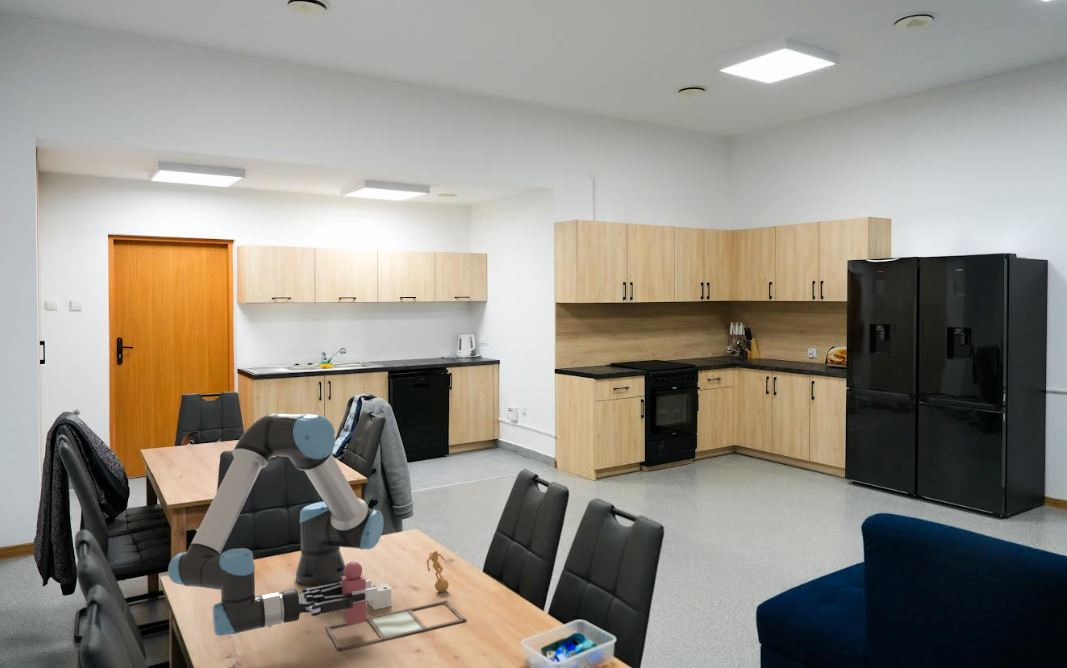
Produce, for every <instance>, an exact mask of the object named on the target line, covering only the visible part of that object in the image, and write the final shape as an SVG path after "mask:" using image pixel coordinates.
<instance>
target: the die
mask: <svg viewBox="0 0 1067 668" xmlns="http://www.w3.org/2000/svg"><path fill="white" fill-rule="evenodd" d="M371 587H372V588H373V587H377V594H378V598H376V599H371V600H368V603H369V605H370V606H371V608H372V609H373V610H380V608H381V609H384V608H390V607H392V588H391V587H390V586H389V584H388V583H387V582H384V583H379V584H374V585H373V584H372V585H371Z"/></svg>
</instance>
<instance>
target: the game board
mask: <svg viewBox="0 0 1067 668" xmlns="http://www.w3.org/2000/svg"><path fill="white" fill-rule="evenodd" d="M439 605H445V606H446V607H447V608H448V609H449V610H450V611H451V612H452V613H453V614H454V615H456V617H457V618H458V619H456V620H452V621H448V622H443V623H439V624H435V625H431V626H425V624H424V623H423V622H422V621H421V619H419V618H418V616H416V614H415V613H414V612H413V611H417V610H421V609H426V608H431V607H435V606H439ZM367 620H368V621H367V623H369V625H370V627H372V629H373V630H374V631H375V633H376V634H377V636H378V638H374V639H370V640H365V641H362V642H358V643H352V644H349V645H344V646H342V645H341V643H340V642H339V640H338V639H337V637H336V635H335V633H334V632H333V630H332V629H334V628H335V627H336V628H340V627H344V626H348V625H347V624H346V623H345V621H344V622H341V623H336V624H331V625H327V626H324V627H325V628H326V629H325V630H326V632H327V634H328V635H329V637H330V640H331V641H332V642H334V643H333V644H334V646H335V648H336V649H338V650H337V651H338V652H340V651H345V650H346V651H347V650H350V649H354V648H358V647H361V646H366V645H371V644H375V643H379V642H383V641H387V640H392V639H393V640H394V639H397V638H401V637H405V636H409V635H413V634H418V633H424V632H427V631H430V630H434V629H440V628H443V627H447V626H452V625H457V624H459V623H460V624H462V623H465V622H467V618H465V617H464V616H463V615H462V614H461V613H460V612H459V611H458V610H457V609H456V608H455V607H454V606H453V605H452V604H451V603H449V601H448V600H442V601H436V602H432V603H428V604H424V605H419V606H415V607H410V608H404V609H401V610H395V611H391V612H386V613H382V614H377V615H373V616H368V617H367ZM339 626H340V627H339Z"/></svg>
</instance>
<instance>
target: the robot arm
mask: <svg viewBox="0 0 1067 668" xmlns="http://www.w3.org/2000/svg"><path fill="white" fill-rule="evenodd" d="M335 434H336V433H335V429H334V425H333V424H332V422H331V421H330V420H329V419H328V418H327V417H325V416H323V415H319V414H313V413H282V412H281V413H278V412H275V413H270V414H269V413H268V414H267V415H264V416H262V417H260V418H259V419H258V420H256V421H255V422H254V423H253V424H251V425H250V426H249V427H248V428H247V429H246V430H245V431H244V432H243V434H242V435H241V436H240V438H239V440H238V441H237V443H236V445H235V446H234V449H233V450H232V456H233V459H232V461H231V463H230V465H229V467H228V469H227V471H226V473H225V475H224V478H223V479H222V481H221V483H220V485H219V487H218V489H217V490H216V493H215V495H214V497H213V499H212V502H211V503H210V505H209V507H208V509H207V511H206V513H205V516H204V517H203V519H202V521H201V523H200V525H199V527H198V529H197V531H196V533H195V535H194V537H193V539H192V541H191V543H190V545H189V547H188V549H187V550H186V551H185V552H179V553H177V554H176V555H175V556H174V557H173V558H172V559H171V560H170V562H169V564H168V568H167V574H168V578H169V579H170V580H171V582H172V583H174V584H177V585H182V586H185V587H196V588H204V589H205V588H206V589H212V590H217V591H218V590H220V595H221V601H220V602H218V603H215V604H214V605H213V607H212V622H213V623H212V625H213V631H214V634H215V635H216V636H218V637H219V636H220V637H221V636H222V637H223V636H229V635H237V634H239V633H244V632H248V631H252V630H253V631H254V630H257V629H260V628H261V629H262V628H266V627H267V628H268V629H269V628H270V629H271V628H272V626H276V625H280V624H281V623H282V622H283V623H284V624H286V623H291V622H297V621H298V620H299V619H300V617H301V616H300V615H301V614H303V613H311V616H312V617H316V616H317V617H318V616H319V615H322V614H326V613H331V612H336V611H341V610H342V609H347V608H352V607H353V603H356V602H361V601H366V602H367V601H369V600H371V599H376V598H378V594H377V587H373V588H372V587H371V586H372V579H367V580H366V589H363V590H358V591H353V592H351V594H344V595H342V581H340V580H341V576H345V575H344V568H345V566H346V563H345V561H344V558H343V555H342V553H341V550H340V548H352V549H357V550H358V549H359V550H371V549H373V548H375V547H376V546H377V545H378V543H379V541H380V539H381V536H382V535H383V534H382V533H383V530H384V516H383V514H382V512H381V511H379V510H377V509H374V510H373V509H370V508H369V505H368V504H367V502H366V501H365V500H364V499H362V498H359V497H357V495H356V493H355V491H354V490H353V488H352V487H351V484H350V483H349V482H348V479H347V478H346V476H345V474H344V473H343V471H342V469H341V467H340V466H339V464H338V463H337V461H336V459H335V457H334V455H333V452H334V449H335V448H334V447H335V446H336V445H335V444H336V437H335ZM273 457H285V458H289V460H290V461H291V462H292V465H293V466H294V467H295V468H296V469H297V470H299V471H304V473H305V474H306V475H307V477H308V480H310V482H311V484H312V485H313V487H314V488H315V490H316V491H317V493H318V495H319V496H320V498H321V500H322V501H319V502H313V503H311V504H308V505H306V506H304V507H302V509H301V510H300V511H299V512H300V513H299V516H300V517H299V531H300V558H299V560H298V564H297V568H296V571H295V580H296V582H297V583H299V585H300V584H301V585H303V586H313V587H306V588H301V589H302V590H301V591H302V593H298V591H297V589H295V588H292V589H287V590H286V589H285V590H282V591H281V592H280V593H279V592H278V591H276V592H271V593H270V592H269V593H266V594H260V595H258V596H256V588H255V587H256V586H255V584H256V583H255V582H256V581H255V580H256V579H255V567H256V566H255V563H254V555H253V551H252V550H250V549H248V548H244V547H243V548H242V547H240V548H232V549H231V548H230V549H227V550H225V551H222V550H223V549H224V547H225V545H226V543H227V540H228V538H229V536H230V535H231V532H232V531H233V529H234V526H235V525H236V522H237V519H238V518H239V517H240V516H239V515H240V513H241V511H242V509H243V508H244V505H245V504H246V501H247V498H248V497H249V494H250V493H251V490H252V489H253V486H254V484H255V483H256V480H257V478H258V476H259V474H260V471H261V470H262V469H263V468H264V469H265V468H266V467H268V464H269V461H270V460H271V459H272V458H273Z"/></svg>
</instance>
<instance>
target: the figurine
mask: <svg viewBox="0 0 1067 668" xmlns="http://www.w3.org/2000/svg"><path fill="white" fill-rule="evenodd" d="M439 557H440V558H441V560H443V561H444V562H445V564H447V561H446V558H444V557H443V556H442V555H441V554H440V553H438V550H435V551H431V552H430V553H429V557H428V558H427V560H426V564H427V572H428V573H430V572H431V568H430V562H429V561H432V563H433V564H432V568H433V569H434V571H435V576H436V578H437V580H436V581H435V584H434V588H435V590H436V591H437V592H438V593H445V592H446V591H448V588H449V582H448V580H447V579H446V578H444V576H443V575H441V573H442V572H443V569H444V568H443V567H442V565H441V564H440V561H439Z"/></svg>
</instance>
